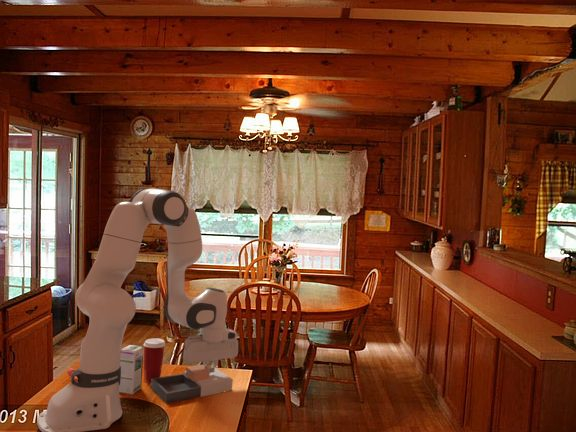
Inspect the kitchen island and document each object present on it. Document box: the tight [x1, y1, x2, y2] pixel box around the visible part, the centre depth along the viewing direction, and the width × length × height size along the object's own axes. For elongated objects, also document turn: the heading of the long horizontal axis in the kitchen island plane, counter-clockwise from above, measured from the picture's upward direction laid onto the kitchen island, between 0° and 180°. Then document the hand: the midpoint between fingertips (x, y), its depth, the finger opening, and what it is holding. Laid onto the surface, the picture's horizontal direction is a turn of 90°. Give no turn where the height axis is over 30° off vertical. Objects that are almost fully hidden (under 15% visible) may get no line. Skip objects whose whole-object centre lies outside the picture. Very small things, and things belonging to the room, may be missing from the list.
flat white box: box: [183, 366, 234, 398], centre depth 166 cm, size 12×14×4 cm
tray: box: [150, 373, 201, 404], centre depth 158 cm, size 12×14×3 cm
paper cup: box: [142, 337, 166, 383], centre depth 168 cm, size 8×8×14 cm
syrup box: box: [119, 344, 144, 395], centre depth 157 cm, size 6×6×14 cm
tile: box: [185, 364, 210, 381], centre depth 163 cm, size 6×6×3 cm
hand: (209, 372), depth 166 cm, fingers closed
